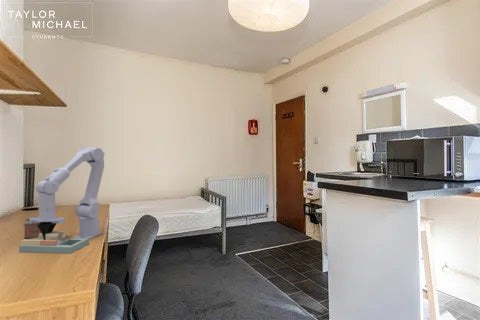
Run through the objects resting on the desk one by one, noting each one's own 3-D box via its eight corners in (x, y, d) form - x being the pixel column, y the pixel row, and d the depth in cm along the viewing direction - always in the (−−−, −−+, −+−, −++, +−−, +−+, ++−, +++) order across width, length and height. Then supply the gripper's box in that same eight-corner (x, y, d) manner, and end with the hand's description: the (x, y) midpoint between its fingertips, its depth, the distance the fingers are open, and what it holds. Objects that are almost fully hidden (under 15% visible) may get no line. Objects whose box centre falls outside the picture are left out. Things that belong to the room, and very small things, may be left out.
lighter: (43, 235, 133) (43, 215, 133) (45, 236, 131) (45, 216, 131) (23, 238, 127) (23, 217, 127) (25, 240, 125) (25, 218, 125)
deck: (42, 242, 121) (42, 232, 121) (89, 243, 120) (89, 234, 120) (19, 251, 109) (19, 241, 109) (70, 253, 108) (70, 242, 108)
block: (54, 240, 117) (54, 231, 117) (65, 240, 117) (65, 231, 117) (45, 243, 112) (45, 234, 112) (56, 244, 112) (56, 234, 112)
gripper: (23, 209, 111) (23, 242, 111) (56, 210, 110) (56, 243, 110) (37, 206, 118) (36, 237, 118) (68, 207, 117) (68, 237, 117)
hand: (47, 239), depth 115 cm, fingers closed
